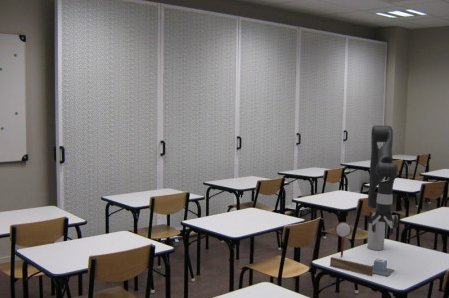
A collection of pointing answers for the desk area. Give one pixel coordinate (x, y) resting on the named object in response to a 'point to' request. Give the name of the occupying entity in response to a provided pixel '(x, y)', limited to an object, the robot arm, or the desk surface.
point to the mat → (383, 272)
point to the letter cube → (380, 265)
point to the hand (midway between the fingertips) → (382, 233)
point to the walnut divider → (351, 266)
